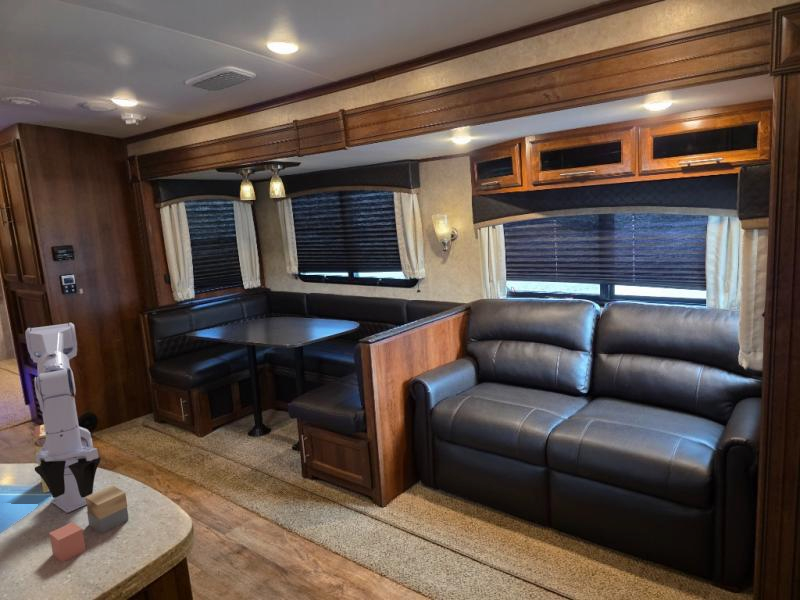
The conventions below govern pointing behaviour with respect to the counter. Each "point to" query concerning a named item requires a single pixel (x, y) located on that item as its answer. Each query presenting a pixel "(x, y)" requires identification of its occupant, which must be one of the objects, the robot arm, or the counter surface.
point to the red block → (67, 541)
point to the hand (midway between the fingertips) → (72, 495)
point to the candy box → (40, 447)
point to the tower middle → (106, 502)
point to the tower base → (108, 520)
